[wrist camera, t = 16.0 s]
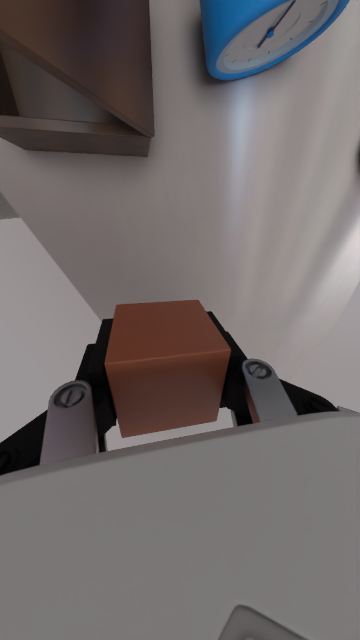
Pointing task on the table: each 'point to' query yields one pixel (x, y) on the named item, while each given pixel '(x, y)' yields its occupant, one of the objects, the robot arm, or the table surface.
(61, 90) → the chest
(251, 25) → the alarm clock
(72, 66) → the lid
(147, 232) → the table surface
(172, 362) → the block
